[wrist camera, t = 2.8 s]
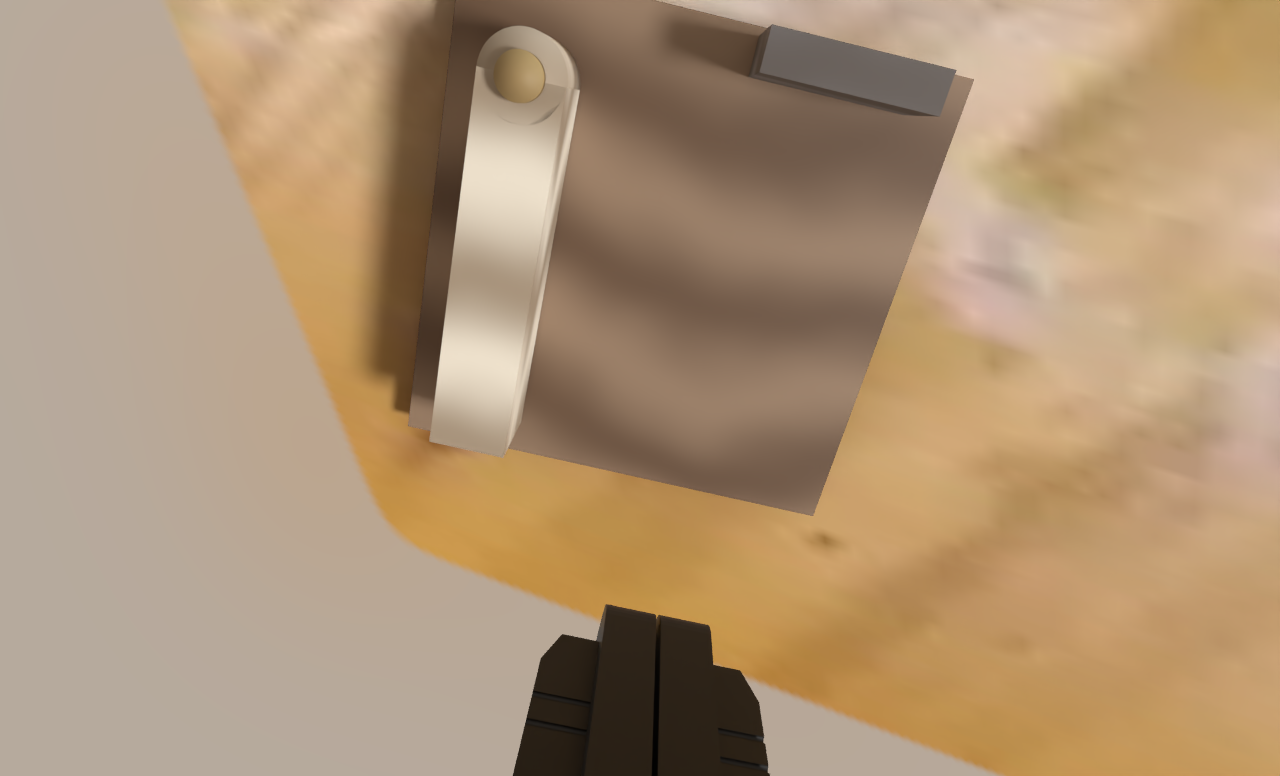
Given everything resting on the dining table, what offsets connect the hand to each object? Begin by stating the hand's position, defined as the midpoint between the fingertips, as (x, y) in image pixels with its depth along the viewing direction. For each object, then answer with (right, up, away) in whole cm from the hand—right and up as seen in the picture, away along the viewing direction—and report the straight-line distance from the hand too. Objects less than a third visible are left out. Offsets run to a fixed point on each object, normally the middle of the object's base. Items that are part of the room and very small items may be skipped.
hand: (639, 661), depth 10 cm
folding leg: (-5, +10, +19) cm, 22 cm away
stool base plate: (+1, +9, +20) cm, 22 cm away
